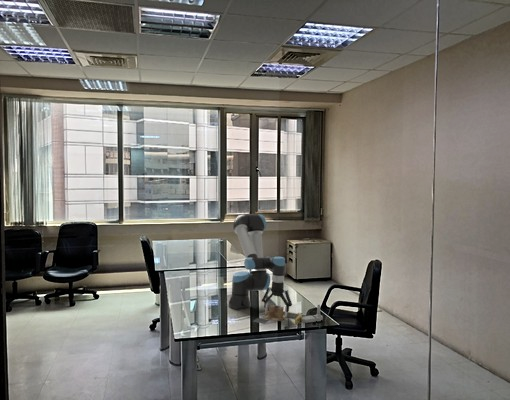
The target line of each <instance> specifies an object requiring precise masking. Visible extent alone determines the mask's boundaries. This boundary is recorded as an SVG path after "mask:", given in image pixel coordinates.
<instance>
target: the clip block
mask: <svg viewBox="0 0 510 400" xmlns="http://www.w3.org/2000/svg"><path fill="white" fill-rule="evenodd" d="M284 307H285V306H284ZM284 307H283V306H281V305H275V304H274V305H273V304H271V305H270V306H268V312H269V317H274V318H279V319H281V318H282V317H283V311H285V308H284Z"/></svg>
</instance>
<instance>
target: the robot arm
mask: <svg viewBox="0 0 510 400" xmlns="http://www.w3.org/2000/svg"><path fill="white" fill-rule="evenodd" d="M266 227H267V221H266V218H265V216H264V215H263V214H258V213H242V214H241V213H240V214H239V215H237V216H236V217H235V219H234V220H233V223H232V228H233V232H234V234H236V236H237V238H238V241H239V243H240V246H241V248H242V251H243V254H244V257H245V259H244V269H246V270H249V271H237V272H235V273H233V275H232V281H231V284H232V285H231V296H230V298H229V301H228V307H229V308H230V309H234V310H238V311H239V310H249V309H250V308H251V307H252V306H251V305H252V304H251V300H250V296H249V295H250V293H249V292H255V291H265V290H266V291H265V293H264V295H263V297H262V298H261V302H262V303H263V307H264V310H265V311H264V313H265V315H266V314H267V313H268V312H269V301H270V299H271V298H272V297H280V298H281V300H282V301H283V303H284V304H285V306H284V307H285V308H284V311H285V318H288V317H287V312H290V307H292V306H293V303H292V300H291V297H290V294H289V290H288V289H286V290H284V287H285V285H284V284H285V283H284V282H285V269H286V268H285V267H286V258H285V257H283V256H279V255H278V256H274V257H273V256H269V255H268V256H265V257H264V247H263V236H262V235H263V233H264V231H265V230H266ZM267 270H272V273H271V274H272V275H270V272H269V273H268V272H267ZM270 284H271V285H270ZM270 286H271V287H270ZM270 292H271V293H270ZM269 293H270V295H269ZM268 295H269V296H268ZM267 296H268V297H267Z"/></svg>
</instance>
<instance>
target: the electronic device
mask: <svg viewBox="0 0 510 400" xmlns="http://www.w3.org/2000/svg"><path fill="white" fill-rule="evenodd" d="M316 308H317V309H316V314H312V315H305V316H302V317H301V321H300V322H302V323H305V324H307V323H314V322H315V323H316V321H317V322H322V321H324V320H323V318H324V317H323V315H321V304H317V307H316ZM321 320H322V321H321Z"/></svg>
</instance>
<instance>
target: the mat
mask: <svg viewBox="0 0 510 400" xmlns="http://www.w3.org/2000/svg"><path fill="white" fill-rule="evenodd" d="M269 321H270V319H267V318H263V317H262V318H260V317H257V318H255V319H254V320H253V321H252V322H253V323H258V324H263V325H265V324H266V323H268V322H269Z"/></svg>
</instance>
